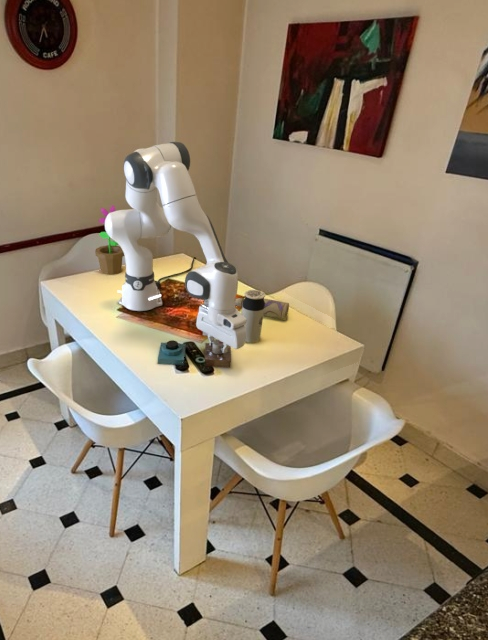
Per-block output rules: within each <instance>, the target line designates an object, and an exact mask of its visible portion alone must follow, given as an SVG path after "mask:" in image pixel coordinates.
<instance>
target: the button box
mask: <svg viewBox="0 0 488 640" xmlns="http://www.w3.org/2000/svg"><path fill="white" fill-rule="evenodd" d="M167 342H168V341H166V342H160V346H159V351H158V355H157V364H159V365H174V366H184V365H185V359H186V349H187V343H181V342H178V349H175V350H169V349H167ZM184 357H185V358H184ZM180 362H184V363H180Z"/></svg>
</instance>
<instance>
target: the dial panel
mask: <svg viewBox="0 0 488 640" xmlns="http://www.w3.org/2000/svg"><path fill="white" fill-rule="evenodd" d="M224 346H225V345H224ZM212 348H213V347H212V346H210V342H205V344H204V360H205V361H203V366H204V367H207V368H208V367H211V368H228V369H230V368H231V366H232V347H230V346H229V347H228V348H227V352H226V353H222V354H215V353H213V352H212ZM204 362H206V363H209V364H204Z"/></svg>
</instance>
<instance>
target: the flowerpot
mask: <svg viewBox="0 0 488 640" xmlns="http://www.w3.org/2000/svg"><path fill="white" fill-rule="evenodd" d="M100 211H101V213H102V215H103V216H104V217H101V218H100V219H98V222H99V224H105V219H106V217H107V215H108V214H109V213H111V212H114V211H116V207H115V205H114V204H113V205H111V207H110V209H109V211H108V210H107V209H106V208H104V207H101V208H100ZM98 235H99V236H100V238H102V239H104V240H106V239H107V241H108V244H107V245H101V246H98V247H96V248H95V250H94V253H95V257H96V258H98V262H99V267H100V272H101V273H102V274H105V275H117V274H119V273H122V269H123V257H125V256H124V252H123V250H122V248H121V247H120V245H119V244H118V243H117V242H116V241H114V240H111V238H110V237H109V236H108V234H107V233H106V231H101V232H100V233H98Z"/></svg>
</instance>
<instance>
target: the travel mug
mask: <svg viewBox="0 0 488 640" xmlns="http://www.w3.org/2000/svg"><path fill="white" fill-rule="evenodd" d="M243 295H244V298H243V299H244V300H243V304H242V308H241V312H240V313H241V314H242V315H243V316H244V317H245V318H246V320H247V322H246V324H244V326H245V328H246V338H245V343H249V344H251V343H252V344H253V343H257V342H259V341H260V340H261V335H262V334H261V333H262V328H263V327H262V326H263V320H264V315H263V314H264V307H265V301H264V299H265V298H266V293H265V292H264V291H262V290H260V289H248V290H245V292H244V293H243Z"/></svg>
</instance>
